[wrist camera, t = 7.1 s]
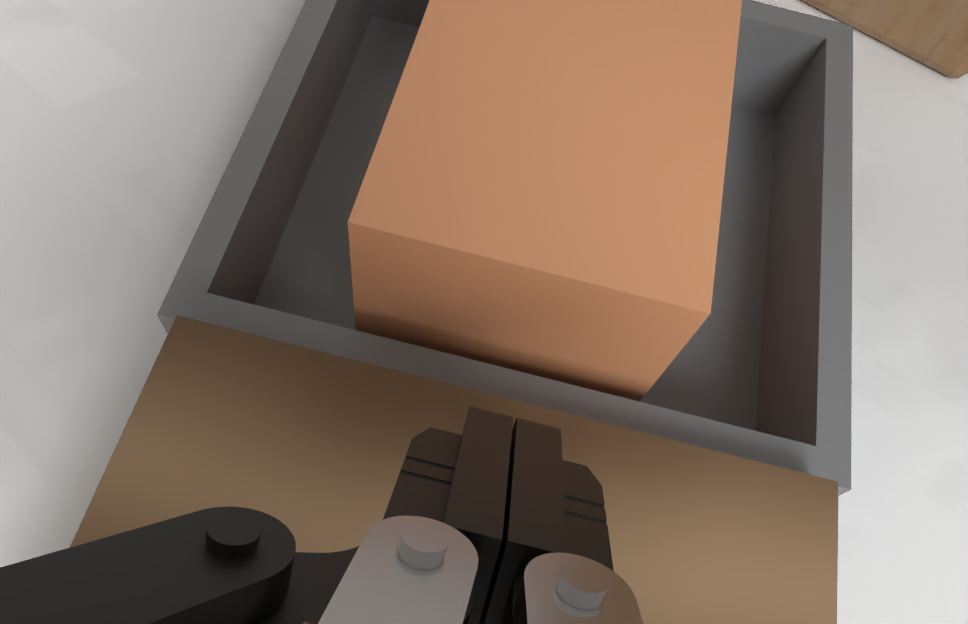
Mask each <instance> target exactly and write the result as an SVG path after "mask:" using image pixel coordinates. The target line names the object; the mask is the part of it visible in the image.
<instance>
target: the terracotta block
mask: <svg viewBox="0 0 968 624" xmlns="http://www.w3.org/2000/svg"><path fill="white" fill-rule="evenodd" d="M741 6H742V0H430V1H429V3H428V6H427V9H426V11H425V14H424V17H423V20H422V22H421V25H420V28H419V30H418V33H417V36H416V39H415V41H414V44H413V47H412V49H411V52H410V55H409V58H408V60H407V63H406V66H405V68H404V71H403V74H402V76H401V79H400V82H399V85H398V87H397V90H396V93H395V95H394V98H393V101H392V104H391V106H390V109H389V112H388V114H387V117H386V120H385V123H384V125H383V128H382V131H381V133H380V136H379V139H378V141H377V144H376V147H375V150H374V152H373V155H372V158H371V160H370V163H369V166H368V169H367V171H366V174H365V177H364V179H363V182H362V185H361V188H360V190H359V193H358V196H357V198H356V201H355V204H354V206H353V209H352V212H351V215H350V217H349V220H348V232H349V246H350V260H351V274H352V288H353V301H354V315H355V329H356V330H357V331H361V332H365V333H369V334H373V335H377V336H381V337H385V338H389V339H393V340H397V341H401V342H405V343H409V344H413V345H416V346H420V347H424V348H428V349H432V350H436V351H440V352H444V353H448V354H452V355H456V356H460V357H464V358H468V359H472V360H476V361H480V362H484V363H488V364H492V365H496V366H500V367H504V368H508V369H512V370H516V371H520V372H524V373H528V374H532V375H536V376H540V377H544V378H547V379H551V380H555V381H559V382H563V383H567V384H571V385H575V386H579V387H583V388H587V389H591V390H595V391H599V392H603V393H607V394H611V395H615V396H619V397H623V398H627V399H631V400H635V401H639V402H640V400H641V399H642V398H643V397H644V396H645V394H646V393H647V392H648V391H649V389H650V388H651V387H652V386H653V384H654V383H655V382H656V381H657V379H658V378H659V377H660V376H661V374H662V373H663V372H664V371H665V369H666V368H667V367H668V366H669V365H670V363H671V362H672V361H673V360H674V358H675V357H676V356H677V355H678V353H679V352H680V351H681V350H682V348H683V347H684V346H685V345H686V343H687V342H688V341H689V340H690V339H691V337H692V336H693V335H694V334H695V332H696V331H697V330H698V329H699V327H700V326H701V325H702V324H703V322H704V321H705V320H706V319H707V317H708V316H709V315H710V314H711V305H712V295H713V285H714V275H715V265H716V255H717V245H718V235H719V225H720V215H721V205H722V195H723V185H724V175H725V165H726V156H727V146H728V136H729V126H730V116H731V106H732V96H733V86H734V76H735V66H736V56H737V46H738V36H739V26H740V16H741Z"/></svg>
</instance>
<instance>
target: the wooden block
mask: <svg viewBox="0 0 968 624" xmlns="http://www.w3.org/2000/svg"><path fill="white" fill-rule="evenodd" d="M802 1H804V2H806V3H808V4H810V5H811V6H813V7H815V8H817V9H819V10H821V11H823V12H825V13H827V14H829V15H831V16H833V17H834V18H836V19H838V20H840V21H842V22H844V23H846V24H848V25H851V26H853V27H854V28H856V29H857V30H859V31H861V32H863V33H865V34H867V35H869V36H871V37H873V38H875V39H877V40H879V41H881V42H882V43H884V44H886V45H888V46H890V47H892V48H894V49H896V50H898V51H900V52H902V53H904V54H905V55H907V56H909V57H911V58H913V59H915V60H917V61H919V62H921V63H923V64H925V65H927V66H929V67H930V68H932V69H934V70H936V71H938V72H940V73H942V74H944V75H946V76H948V77H951V78H957V79H958V78H959V77H961V76H963V75H964V74H966V73H968V0H802Z"/></svg>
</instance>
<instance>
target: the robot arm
mask: <svg viewBox="0 0 968 624" xmlns="http://www.w3.org/2000/svg"><path fill="white" fill-rule="evenodd" d="M512 426H513V428H512ZM604 505H605V504H604V496H603V489H602V485H601V484H600V482H599V481H598V480H597V478H596V477H595V476H594V475H593V473H592V472H591V471H590V469H589V468H588V467H587V466H585V465H581V464H577V463H573V462H569V461H565V460H562V438H561V428H557V427H553V426H549V425H545V424H541V423H537V422H533V421H529V420H525V419H521V418H516V420H515V422H514V425H513V417H512V416H508V415H504V414H500V413H496V412H492V411H488V410H484V409H480V408H476V407H472V406H469V410H468V413H467V417H466V421H465V425H464V429H463V433H462V435H460V434H456V433H452V432H448V431H444V430H440V429H436V428H432V427H430V428H428V429H426V430H425V431H423V432H422V433H420V434H418V435H417V436H415V437H414V438H412V440H411V442H410V445H409V448H408V451H407V454H406V457H405V459H404V462H403V465H402V467H401V470H400V473H399V476H398V479H397V481H396V484H395V487H394V490H393V492H392V495H391V498H390V501H389V503H388V506H387V509H386V512H385V515H384V517H383V520H381V521H379V522H377V523H376V524H374V525H373V526H372V527H371V528H370V529H369V530H368V532H367V533H366V535H365V537H364V538H363V540H362V542H361V544H360V546H357V547H355V548H352V549H348V550H344V551H339V552H330V553H311V552H295V551H296V542H295V539H294V536H293V534H292V533H291V531H290V530H289V529H288V527H287V526H286V525H285V524H283V523H282V522H281V521H279V520H278V519H276V518H275V517H273V516H271V515H269V514H266V513H264V512H261V511H257V510H254V509H249V508H243V507H232V506H228V507H214V508H208V509H203V510H199V511H196V512H192V513H189V514H185V515H182V516H178V517H175V518H171V519H168V520H164V521H161V522H157V523H154V524H151V525H147V526H144V527H140V528H137V529H133V530H130V531H126V532H123V533H119V534H116V535H112V536H109V537H105V538H102V539H99V540H95V541H92V542H88V543H85V544H81V545H78V546H74V547H71V548H67V549H64V550H60V551H57V552H53V553H50V554H46V555H43V556H40V557H36V558H33V559H29V560H26V561H22V562H19V563H15V564H12V565H8V566H5V567H1V568H0V624H644V623H643V621H642V618H641V614H640V610H639V607H638V603H637V600H636V597H635V595H634V593H633V591H632V590H631V588H630V587H629V585H628V584H627V583H626V582H625V581H624V580H623V579H622V578H621V577H620V576H619V575H618V574H616V573H615V572H614V569H613V562H612V554H611V547H610V540H609V533H608V525H607V524H606V522H607V518H606V511H605V508H604Z"/></svg>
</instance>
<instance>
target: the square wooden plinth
mask: <svg viewBox="0 0 968 624" xmlns="http://www.w3.org/2000/svg"><path fill="white" fill-rule="evenodd" d="M469 406H472V407H476V408H480V409H484V410H488V411H492V412H496V413H500V414H504V415H508V416H512V417H513V425H514V422H515V420H516V418H521V419H525V420H529V421H533V422H537V423H541V424H545V425H549V426H553V427H557V428H561V438H562V460H565V461H569V462H573V463H577V464H581V465H585V466H587V467H588V468H589V469H590V471H591V472H592V473H593V475H594V476H595V477H596V478H597V480H598V481H599V482H600V484H601V485H602V489H603V496H604V504H605V505H604V508H605V511H606V518H607V522H606V524H607V525H608V533H609V540H610V547H611V554H612V562H613V569H614V572H615V573H616V574H618V575H619V576H620V577H621V578H622V579H623V580H624V581H625V582H626V583H627V584H628V585H629V587H630V588H631V590H632V591H633V593H634V595H635V597H636V600H637V603H638V607H639V610H640V614H641V618H642V621H643V623H644V624H837V555H838V481H834V480H830V479H826V478H822V477H818V476H814V475H810V474H806V473H802V472H798V471H794V470H790V469H786V468H782V467H778V466H774V465H770V464H766V463H762V462H758V461H754V460H750V459H746V458H742V457H738V456H735V455H731V454H727V453H723V452H719V451H715V450H711V449H707V448H703V447H699V446H695V445H691V444H687V443H683V442H679V441H675V440H671V439H667V438H663V437H659V436H655V435H651V434H647V433H643V432H639V431H635V430H631V429H627V428H623V427H619V426H615V425H611V424H608V423H604V422H600V421H596V420H592V419H588V418H584V417H580V416H576V415H572V414H568V413H564V412H560V411H556V410H552V409H548V408H544V407H540V406H536V405H532V404H528V403H524V402H520V401H516V400H512V399H508V398H504V397H500V396H496V395H492V394H488V393H485V392H481V391H477V390H473V389H469V388H465V387H461V386H457V385H453V384H449V383H445V382H441V381H437V380H433V379H429V378H425V377H421V376H417V375H413V374H409V373H405V372H401V371H397V370H393V369H389V368H385V367H381V366H377V365H373V364H369V363H365V362H361V361H358V360H354V359H350V358H346V357H342V356H338V355H334V354H330V353H326V352H322V351H318V350H314V349H310V348H306V347H302V346H298V345H294V344H290V343H286V342H282V341H278V340H274V339H270V338H266V337H262V336H258V335H254V334H250V333H246V332H242V331H238V330H235V329H231V328H227V327H223V326H219V325H215V324H211V323H207V322H203V321H199V320H195V319H191V318H187V317H183V316H179V315H177V316H176V318H175V320H174V322H173V325H172V327H171V329H170V331H169V333H168V335H167V338H166V340H165V342H164V344H163V346H162V349H161V351H160V353H159V355H158V357H157V359H156V362H155V364H154V366H153V368H152V370H151V372H150V375H149V377H148V379H147V381H146V383H145V385H144V388H143V390H142V392H141V394H140V396H139V398H138V401H137V403H136V405H135V407H134V409H133V412H132V414H131V416H130V418H129V420H128V422H127V425H126V427H125V429H124V431H123V433H122V435H121V438H120V440H119V442H118V444H117V446H116V448H115V451H114V453H113V455H112V457H111V459H110V461H109V464H108V466H107V468H106V470H105V472H104V475H103V477H102V479H101V481H100V483H99V485H98V488H97V490H96V492H95V494H94V496H93V498H92V501H91V503H90V505H89V507H88V509H87V511H86V514H85V516H84V518H83V520H82V522H81V524H80V527H79V529H78V531H77V533H76V535H75V538H74V540H73V542H72V544H71V546H70V548H71V547H74V546H78V545H81V544H85V543H88V542H92V541H95V540H99V539H102V538H105V537H109V536H112V535H116V534H119V533H123V532H126V531H130V530H133V529H137V528H140V527H144V526H147V525H151V524H154V523H157V522H161V521H164V520H168V519H171V518H175V517H178V516H182V515H185V514H189V513H192V512H196V511H199V510H203V509H208V508H214V507H228V506H232V507H243V508H249V509H254V510H257V511H261V512H264V513H266V514H269V515H271V516H273V517H275V518H276V519H278V520H279V521H281V522H282V523H283V524H285V525H286V526H287V527H288V529H289V530H290V531H291V533H292V534H293V536H294V539H295V542H296V551H295V552H311V553H330V552H339V551H344V550H348V549H352V548H355V547H357V546H360V544H361V542H362V540H363V538H364V537H365V535H366V533H367V532H368V530H369V529H370V528H371V527H372V526H373V525H374V524H376V523H377V522H379V521H381V520H383V517H384V515H385V512H386V509H387V506H388V503H389V501H390V498H391V495H392V492H393V490H394V487H395V484H396V481H397V479H398V476H399V473H400V470H401V467H402V465H403V462H404V459H405V457H406V454H407V451H408V448H409V445H410V442H411V440H412V438H414V437H415V436H417V435H418V434H420V433H422V432H423V431H425V430H426V429H428V428H430V427H432V428H436V429H440V430H444V431H448V432H452V433H456V434H460V435H462V433H463V429H464V425H465V421H466V417H467V413H468V410H469ZM512 428H513V426H512Z"/></svg>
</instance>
